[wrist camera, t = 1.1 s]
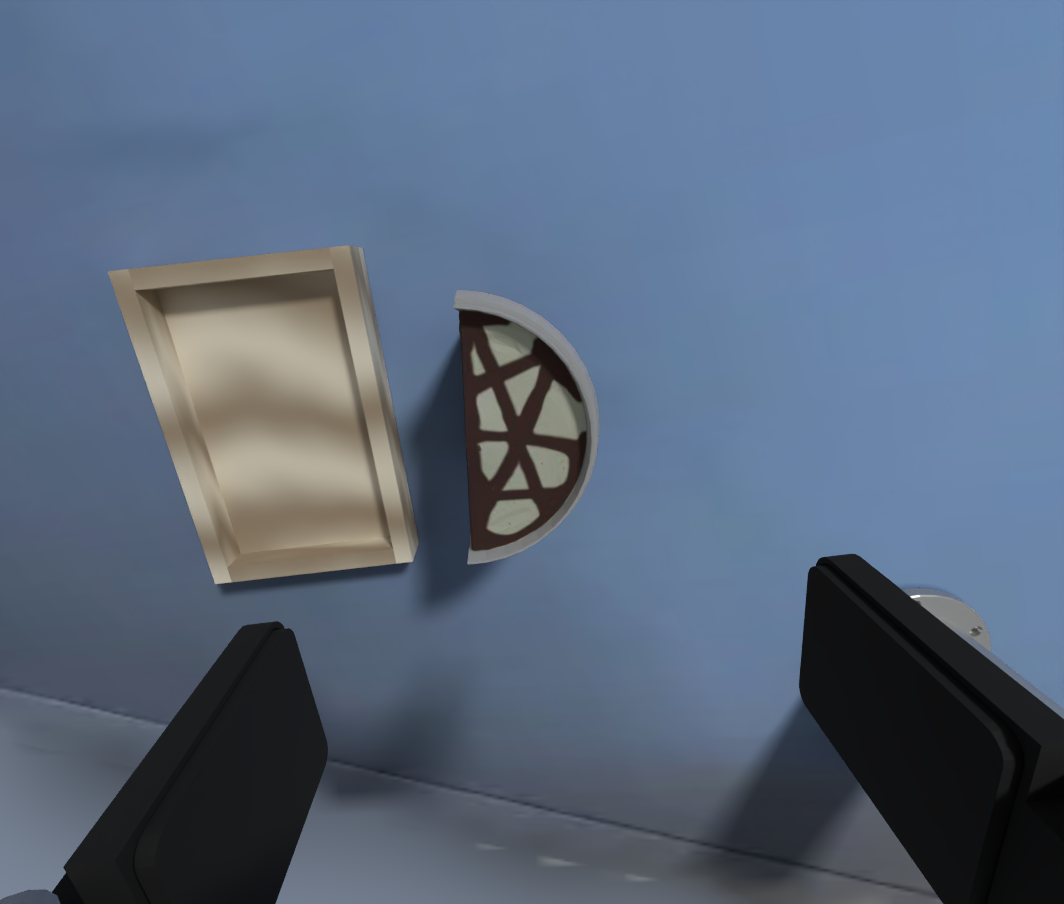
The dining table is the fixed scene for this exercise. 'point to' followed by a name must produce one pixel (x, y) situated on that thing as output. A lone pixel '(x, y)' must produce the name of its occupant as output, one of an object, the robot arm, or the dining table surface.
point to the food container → (521, 424)
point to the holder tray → (275, 409)
